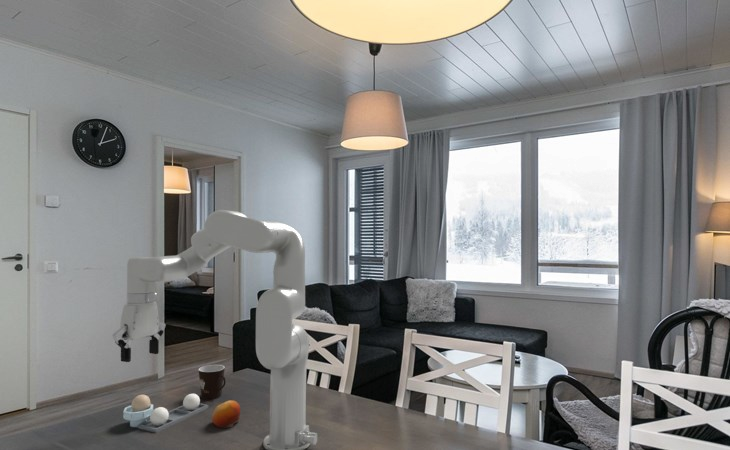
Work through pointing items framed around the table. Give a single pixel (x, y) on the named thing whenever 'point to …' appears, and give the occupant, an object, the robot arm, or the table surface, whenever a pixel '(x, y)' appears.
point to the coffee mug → (211, 381)
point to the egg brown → (140, 403)
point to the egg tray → (172, 418)
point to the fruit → (226, 414)
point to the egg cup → (137, 415)
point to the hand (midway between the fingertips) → (140, 357)
